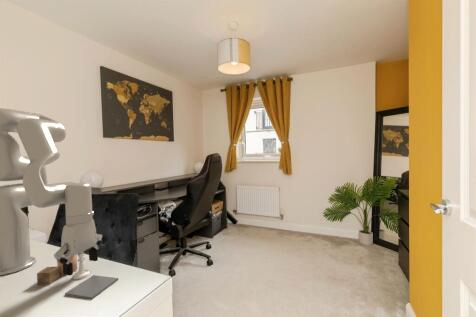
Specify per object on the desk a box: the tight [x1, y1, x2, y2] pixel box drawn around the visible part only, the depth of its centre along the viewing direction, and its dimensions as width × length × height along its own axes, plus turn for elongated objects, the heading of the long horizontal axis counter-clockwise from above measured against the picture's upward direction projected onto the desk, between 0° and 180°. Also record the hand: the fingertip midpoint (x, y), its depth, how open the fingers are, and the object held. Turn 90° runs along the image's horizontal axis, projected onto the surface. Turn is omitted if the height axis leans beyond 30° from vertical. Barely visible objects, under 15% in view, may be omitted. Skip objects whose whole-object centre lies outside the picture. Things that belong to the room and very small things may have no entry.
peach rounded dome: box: [56, 255, 78, 276], centre depth 80 cm, size 6×6×6 cm
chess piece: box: [72, 251, 91, 280], centre depth 77 cm, size 5×5×10 cm
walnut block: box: [36, 266, 60, 286], centre depth 74 cm, size 4×4×4 cm
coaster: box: [64, 274, 119, 300], centre depth 70 cm, size 10×10×1 cm
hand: (81, 267), depth 77 cm, fingers open, 9 cm apart
